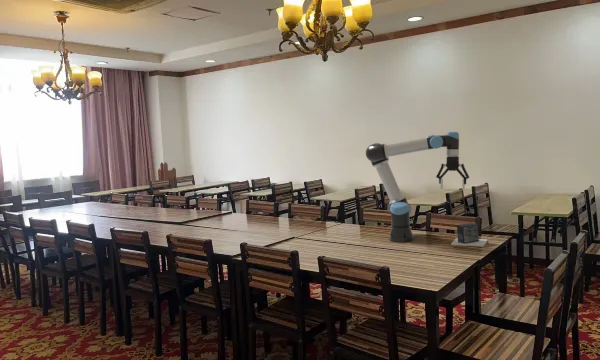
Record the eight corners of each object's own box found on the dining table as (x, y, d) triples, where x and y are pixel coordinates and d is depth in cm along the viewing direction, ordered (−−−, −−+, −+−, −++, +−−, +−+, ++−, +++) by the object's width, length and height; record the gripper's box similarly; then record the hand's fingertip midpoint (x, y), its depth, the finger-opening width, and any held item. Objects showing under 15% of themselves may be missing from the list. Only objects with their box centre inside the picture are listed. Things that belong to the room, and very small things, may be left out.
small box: (472, 239, 287) (471, 222, 286) (479, 241, 281) (478, 224, 280) (457, 241, 284) (456, 224, 283) (464, 243, 278) (463, 226, 277)
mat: (451, 245, 281) (451, 243, 281) (456, 239, 293) (456, 238, 293) (483, 246, 272) (483, 244, 272) (487, 241, 284) (487, 239, 284)
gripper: (474, 156, 300) (473, 189, 301) (434, 156, 312) (434, 188, 314) (472, 156, 293) (471, 190, 295) (431, 156, 306) (431, 189, 307)
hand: (452, 189), depth 304 cm, fingers open, 13 cm apart
